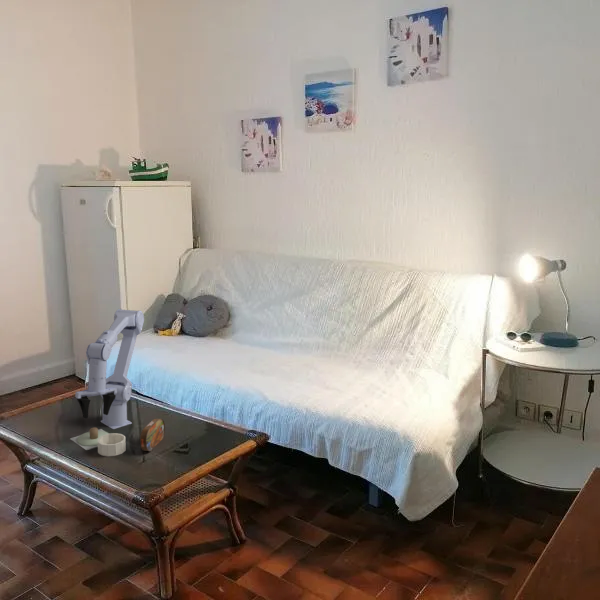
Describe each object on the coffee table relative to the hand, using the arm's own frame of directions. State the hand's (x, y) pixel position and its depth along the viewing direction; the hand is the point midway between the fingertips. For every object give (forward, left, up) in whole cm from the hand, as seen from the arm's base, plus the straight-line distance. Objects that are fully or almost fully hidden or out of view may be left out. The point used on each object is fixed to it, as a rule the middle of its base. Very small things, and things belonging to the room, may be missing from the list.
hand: (95, 416), depth 206 cm
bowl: (+10, +1, -10) cm, 14 cm away
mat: (-2, 0, -10) cm, 10 cm away
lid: (-2, 0, -9) cm, 9 cm away
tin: (+15, +13, -10) cm, 22 cm away
